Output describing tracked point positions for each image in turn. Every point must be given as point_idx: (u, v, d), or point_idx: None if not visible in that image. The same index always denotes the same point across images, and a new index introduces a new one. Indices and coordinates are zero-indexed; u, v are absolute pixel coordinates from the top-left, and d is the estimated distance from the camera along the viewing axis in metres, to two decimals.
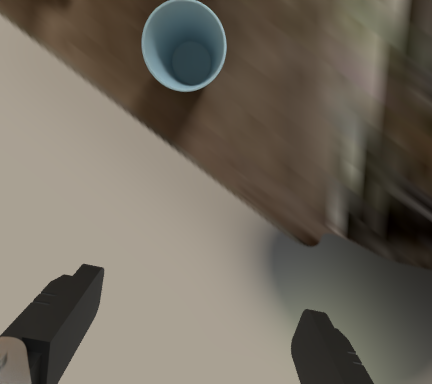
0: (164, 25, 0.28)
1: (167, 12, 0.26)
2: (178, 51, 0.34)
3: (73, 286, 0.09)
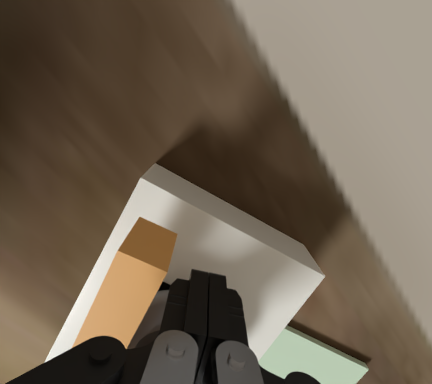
0: None
1: None
2: None
3: (196, 288, 0.10)
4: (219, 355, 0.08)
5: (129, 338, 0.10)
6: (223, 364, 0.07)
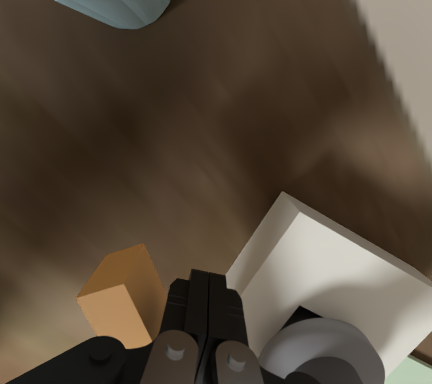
0: None
1: None
2: None
3: (196, 288, 0.10)
4: (219, 355, 0.08)
5: None
6: (223, 364, 0.07)
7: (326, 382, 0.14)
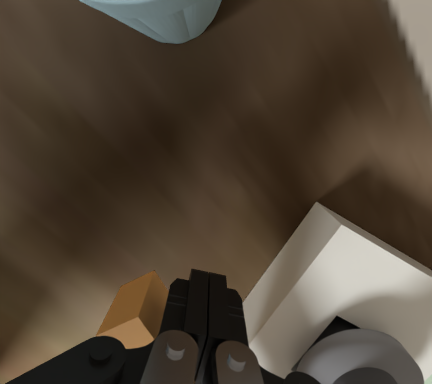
0: None
1: None
2: None
3: (196, 288, 0.10)
4: (219, 355, 0.08)
5: None
6: (223, 364, 0.07)
7: None
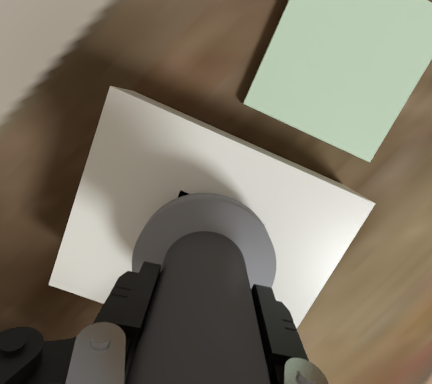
0: None
1: None
2: None
3: (142, 281, 0.10)
4: (288, 368, 0.08)
5: None
6: (295, 383, 0.07)
7: None
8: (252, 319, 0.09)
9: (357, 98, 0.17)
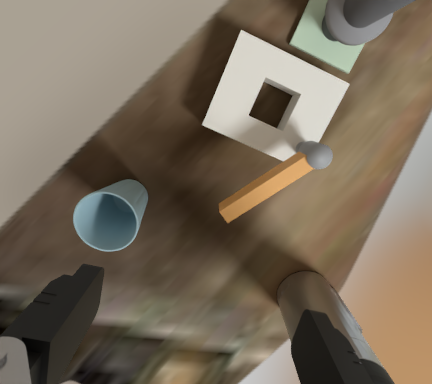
0: None
1: None
2: None
3: (73, 286, 0.09)
4: None
5: (241, 198, 0.33)
6: None
7: (350, 11, 0.29)
8: None
9: None
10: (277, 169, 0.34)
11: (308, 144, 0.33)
